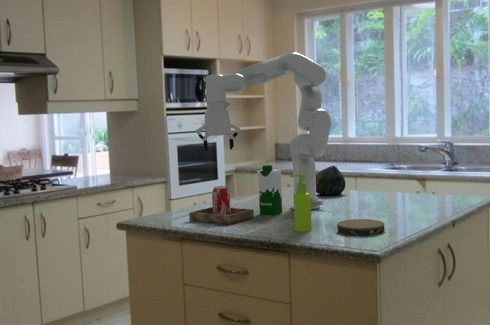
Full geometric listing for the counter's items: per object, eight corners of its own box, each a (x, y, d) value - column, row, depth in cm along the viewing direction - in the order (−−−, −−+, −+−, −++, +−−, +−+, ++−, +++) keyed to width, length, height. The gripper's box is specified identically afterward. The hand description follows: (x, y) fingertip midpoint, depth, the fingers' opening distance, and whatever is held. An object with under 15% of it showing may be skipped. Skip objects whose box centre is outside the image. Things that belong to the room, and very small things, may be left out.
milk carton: (256, 214, 255) (254, 166, 253) (266, 210, 262) (264, 163, 261) (276, 215, 250) (274, 166, 249) (285, 211, 258) (283, 164, 257)
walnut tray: (253, 218, 247) (253, 209, 247) (228, 225, 234) (228, 216, 234) (215, 214, 259) (215, 206, 259) (189, 220, 247) (189, 212, 246)
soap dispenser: (290, 229, 222) (288, 173, 220) (309, 228, 222) (307, 172, 221) (293, 232, 216) (291, 175, 214) (312, 231, 217) (311, 174, 215)
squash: (308, 182, 308) (315, 161, 298) (336, 181, 312) (344, 160, 301) (315, 204, 299) (323, 183, 288) (344, 203, 302) (353, 182, 292)
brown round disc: (383, 227, 221) (382, 218, 220) (385, 236, 205) (385, 227, 205) (337, 227, 223) (337, 219, 223) (337, 237, 208) (336, 228, 207)
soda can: (228, 218, 243) (227, 188, 242) (211, 218, 244) (209, 188, 243) (232, 215, 250) (231, 185, 248) (215, 215, 251) (214, 186, 250)
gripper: (237, 105, 248) (239, 148, 249) (194, 107, 245) (196, 150, 247) (239, 105, 240) (241, 149, 242) (195, 107, 238) (197, 152, 240)
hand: (218, 150), depth 244 cm, fingers open, 9 cm apart
